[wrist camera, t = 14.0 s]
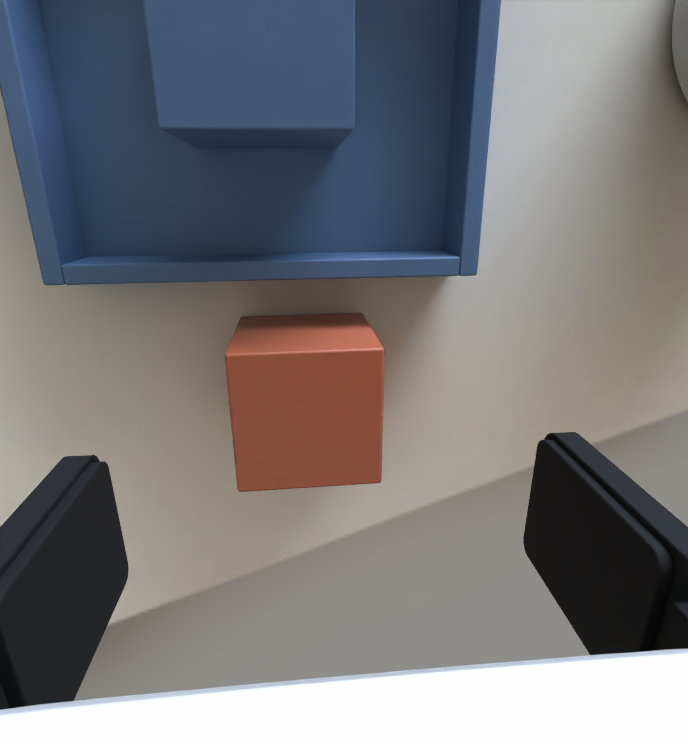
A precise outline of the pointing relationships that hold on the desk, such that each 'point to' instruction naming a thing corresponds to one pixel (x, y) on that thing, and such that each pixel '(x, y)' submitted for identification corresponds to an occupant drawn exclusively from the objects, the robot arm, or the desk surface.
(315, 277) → the blue tray
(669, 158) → the desk surface
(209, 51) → the blue block
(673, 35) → the travel mug
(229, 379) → the terracotta block
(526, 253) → the desk surface
